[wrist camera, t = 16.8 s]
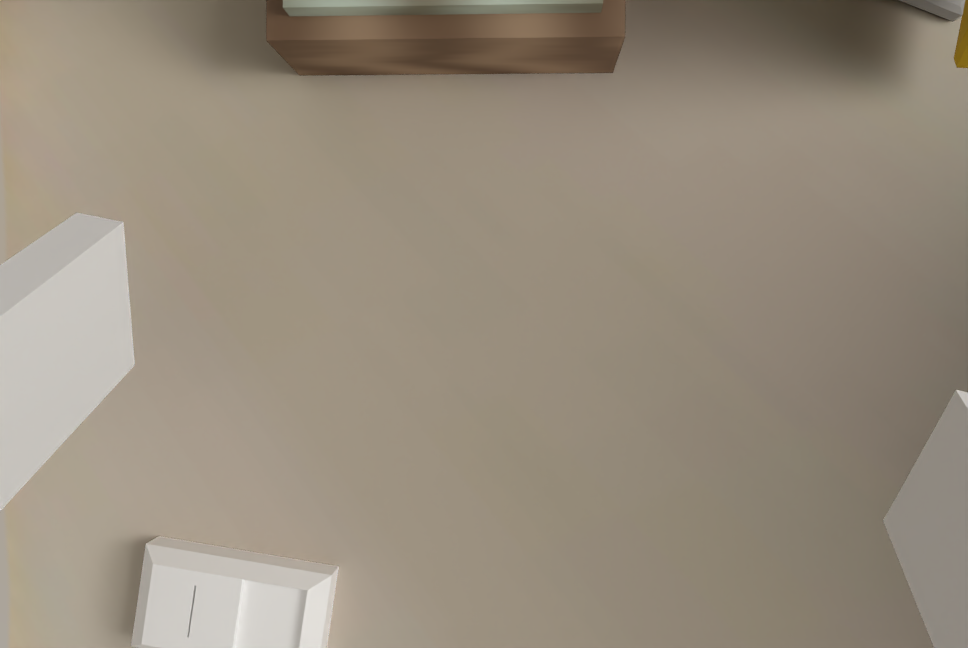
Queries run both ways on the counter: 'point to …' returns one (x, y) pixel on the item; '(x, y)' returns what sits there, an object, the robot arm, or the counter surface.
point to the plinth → (446, 36)
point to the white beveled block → (230, 598)
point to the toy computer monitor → (950, 5)
